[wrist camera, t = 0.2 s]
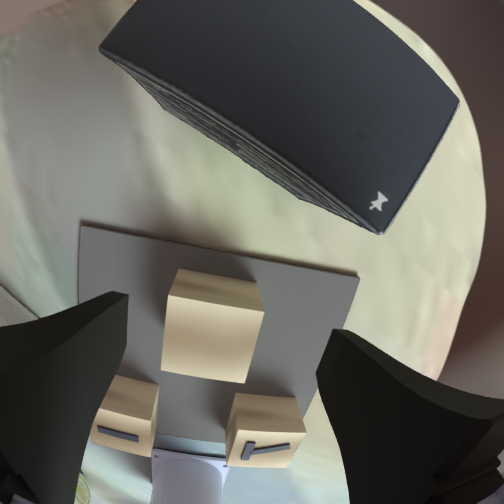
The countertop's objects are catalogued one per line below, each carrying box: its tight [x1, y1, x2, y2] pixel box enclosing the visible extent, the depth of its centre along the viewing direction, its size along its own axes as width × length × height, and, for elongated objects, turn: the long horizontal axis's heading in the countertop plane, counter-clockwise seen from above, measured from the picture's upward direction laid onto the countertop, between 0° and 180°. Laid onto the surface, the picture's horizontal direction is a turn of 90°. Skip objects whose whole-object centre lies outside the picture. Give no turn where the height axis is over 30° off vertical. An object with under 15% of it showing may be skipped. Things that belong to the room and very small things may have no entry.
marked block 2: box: [225, 393, 306, 468], centre depth 21 cm, size 5×5×4 cm
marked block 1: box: [90, 375, 159, 457], centre depth 20 cm, size 5×5×4 cm
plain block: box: [161, 268, 264, 383], centre depth 18 cm, size 5×5×4 cm
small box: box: [99, 0, 460, 235], centre depth 12 cm, size 11×6×10 cm, turn 55°
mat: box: [79, 224, 360, 443], centre depth 21 cm, size 18×19×1 cm
